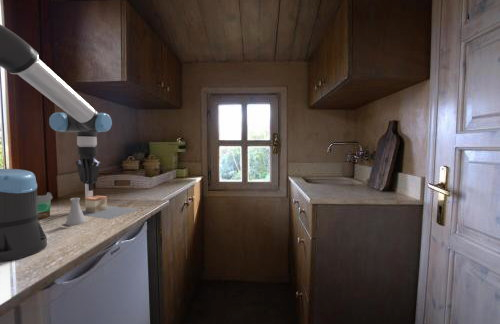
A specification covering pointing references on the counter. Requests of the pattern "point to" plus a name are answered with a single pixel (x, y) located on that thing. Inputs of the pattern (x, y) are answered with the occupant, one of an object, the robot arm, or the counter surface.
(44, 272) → the counter surface
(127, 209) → the rubber mat
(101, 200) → the birch cube
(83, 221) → the flask
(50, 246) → the counter surface
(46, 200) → the food container
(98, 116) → the robot arm
